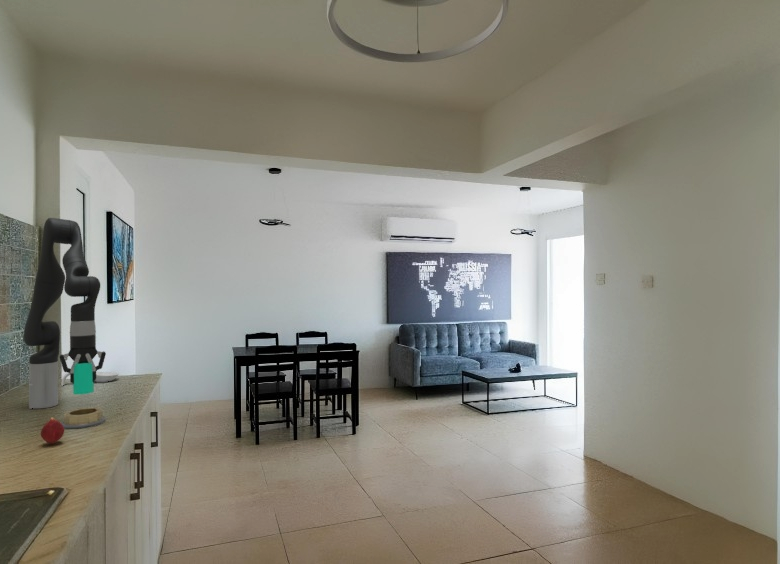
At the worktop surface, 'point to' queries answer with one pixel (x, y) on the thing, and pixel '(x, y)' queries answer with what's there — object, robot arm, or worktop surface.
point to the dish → (83, 424)
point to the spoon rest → (97, 377)
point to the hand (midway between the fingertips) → (83, 382)
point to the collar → (82, 416)
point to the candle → (83, 379)
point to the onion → (52, 431)
